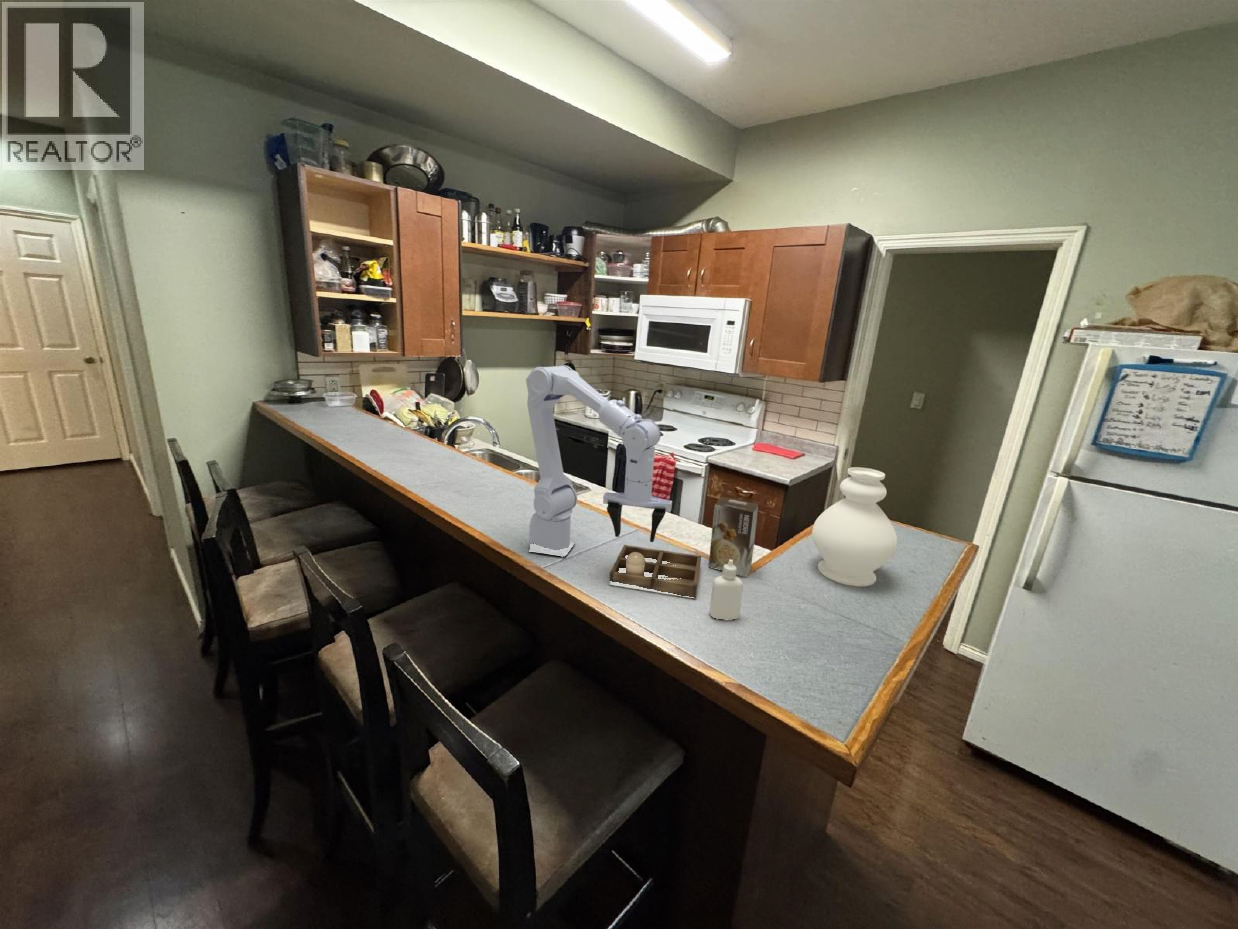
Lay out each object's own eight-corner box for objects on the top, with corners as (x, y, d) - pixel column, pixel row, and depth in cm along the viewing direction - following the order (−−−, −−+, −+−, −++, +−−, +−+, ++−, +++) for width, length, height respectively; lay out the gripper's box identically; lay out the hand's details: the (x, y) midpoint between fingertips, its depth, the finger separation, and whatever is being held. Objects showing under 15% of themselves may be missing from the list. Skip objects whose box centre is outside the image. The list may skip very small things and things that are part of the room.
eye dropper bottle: (712, 606, 98) (719, 552, 95) (740, 614, 96) (748, 559, 93) (706, 617, 94) (713, 561, 91) (735, 626, 92) (743, 568, 89)
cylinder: (623, 580, 105) (625, 555, 103) (627, 572, 109) (628, 547, 107) (642, 583, 104) (643, 558, 102) (645, 574, 108) (646, 550, 106)
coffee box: (752, 567, 115) (761, 503, 111) (745, 578, 110) (754, 512, 106) (714, 557, 119) (722, 495, 115) (706, 567, 114) (713, 503, 110)
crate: (609, 585, 104) (609, 572, 103) (623, 556, 117) (624, 544, 117) (695, 599, 100) (697, 586, 99) (700, 567, 114) (701, 555, 113)
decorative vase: (857, 600, 103) (880, 489, 96) (790, 564, 118) (806, 465, 111) (904, 582, 112) (929, 478, 105) (837, 550, 127) (854, 458, 120)
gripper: (675, 476, 104) (670, 535, 108) (610, 469, 107) (607, 526, 111) (671, 486, 98) (666, 548, 101) (601, 478, 101) (599, 538, 104)
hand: (634, 537), depth 106 cm, fingers open, 7 cm apart
